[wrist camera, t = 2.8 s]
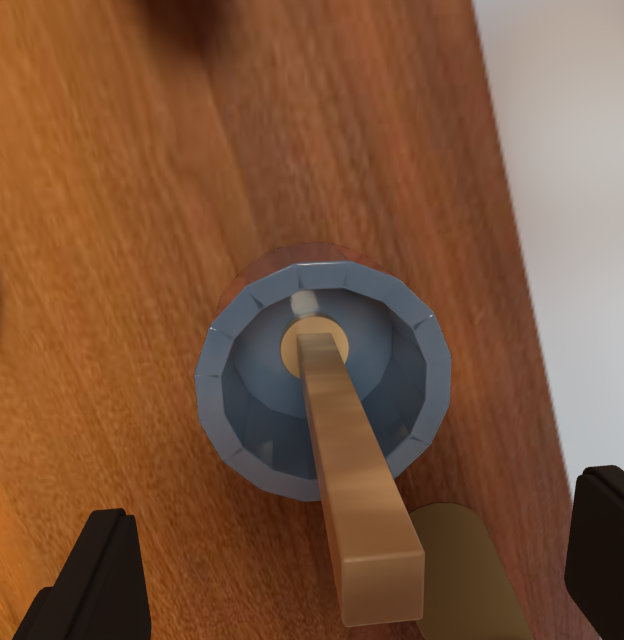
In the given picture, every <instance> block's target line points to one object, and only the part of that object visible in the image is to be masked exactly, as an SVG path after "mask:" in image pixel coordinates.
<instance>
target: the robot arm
mask: <svg viewBox="0 0 624 640" xmlns="http://www.w3.org/2000/svg"><path fill="white" fill-rule="evenodd" d="M564 580H565V585H566V588H567V591H568V593H569V595H570V596H571V598H572V599H573V600H574V602H575V603H576V604H577V606H578V607H579V609H580V610H581V611H582V613H583V614H584V615H585V617H586V618H587V619H588V621H589V622H590V623H591V625H592V626H593V627H594V629H595V630H596V632H597V633H598V634H599V636H600V637H601V638H602V640H624V471H623V470H622V469H620V468H619V467H617V466H614V465H608V466H597V467H588V468H585V470H584V471H583V474H582V475H580V476H578V478H577V481H576V487H575V495H574V503H573V511H572V519H571V527H570V535H569V543H568V551H567V559H566V567H565V575H564ZM150 638H151V617H150V610H149V604H148V597H147V591H146V584H145V578H144V571H143V565H142V558H141V552H140V545H139V539H138V533H137V526H136V520H135V517H134V515H126V512H125V510H124V509H123V508H118V509H107V510H96V511H93V512H92V513H91V514H90V516H89V518H88V520H87V522H86V524H85V526H84V528H83V530H82V532H81V534H80V536H79V538H78V539H77V541H76V543H75V545H74V547H73V549H72V551H71V553H70V555H69V557H68V559H67V561H66V563H65V565H64V567H63V569H62V571H61V572H60V574H59V576H58V578H57V580H56V582H55V584H54V586H53V587H44V588H43V589H42V590H40V591H39V593H38V594H37V595H36V597H35V598H34V600H33V602H32V604H31V606H30V608H29V609H28V611H27V613H26V615H25V617H24V619H23V620H22V622H21V624H20V626H19V628H18V630H17V631H16V633H15V635H14V637H13V639H12V640H150Z"/></svg>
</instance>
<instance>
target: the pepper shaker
mask: <svg viewBox="0 0 624 640" xmlns="http://www.w3.org/2000/svg"><path fill="white" fill-rule="evenodd" d="M409 517H410V519H411V521H412V524H413V526H414V528H415V531H416V533H417V536H418V538H419V540H420V543H421V545H422V547H423V550H424V552H425V568H424V602H423V617H422V619H420V620H415V622H416V624H417V626H418V628H419V630H420V632H421V634H422V636H423V638H424V640H534V637H533V635H532V633H531V630H530V628H529V626H528V623H527V621H526V618H525V616H524V614H523V611H522V609H521V607H520V604H519V602H518V600H517V597H516V595H515V593H514V590H513V588H512V586H511V583H510V581H509V579H508V576H507V574H506V572H505V569H504V567H503V565H502V562H501V560H500V557H499V555H498V553H497V550H496V548H495V546H494V543H493V541H492V539H491V536H490V534H489V532H488V529H487V527H486V526H485V524H484V523H483V521H482V519H481V518H480V516H479V515H477V514H476V513H475V512H473V511H472V510H470V509H469V508H468V507H464V506H461V505H458V504H455V503H434V504H431V505H427V506H423V507H420V508H418V509H416V510H415V511H413V512H411V513H410V514H409Z"/></svg>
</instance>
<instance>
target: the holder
mask: <svg viewBox="0 0 624 640" xmlns="http://www.w3.org/2000/svg"><path fill="white" fill-rule="evenodd" d="M312 312H317V313H323V314H326V315H328V316H330V317H332V318H334V319H335V320H336V321H337V322H338V323H339V324H340V325H341V327H342V328H343V330H344V332H345V334H346V336H347V339H348V343H349V353H348V357H347V360H346V362H345V367H346V369H347V372H348V374H349V376H350V379H351V381H352V383H353V386H354V388H355V390H356V393H357V395H358V397H359V400H360V402H361V404H362V407H363V409H364V411H365V414H366V416H367V418H368V421H369V423H370V425H371V428H372V430H373V432H374V435H375V437H376V439H377V442H378V444H379V446H380V449H381V451H382V454H383V456H384V458H385V461H386V463H387V465H388V468H389V470H390V472H391V475H392V477H393V479H394V480H395V479H396V477H398V476H399V475H400V474H401V473H402V472H403V471H404V470H405V469H406V468H407V467H408V466H410V465H411V464H412V463H413V462H414V461H415V460H416V459H417V458H418V457H419V456H420V455H421V454H422V453H423V452H424V451H425V450H426V449H427V448H428V447H429V446H430V445H431V443H432V441H433V439H434V437H435V435H436V433H437V431H438V428H439V426H440V424H441V422H442V420H443V418H444V416H445V413H446V411H447V409H448V407H449V405H450V404H449V402H450V383H451V353H450V351H449V348H448V346H447V343H446V341H445V338H444V336H443V333H442V331H441V328H440V326H439V323H438V321H437V318H436V316H435V314H434V312H433V311H432V310H431V309H430V308H429V307H428V306H427V305H426V304H425V303H424V302H423V301H422V300H421V299H420V298H419V297H418V296H417V295H416V294H415V293H414V292H412V291H411V290H410V289H409V288H408V287H407V286H406V285H405V284H404V283H403V282H402V281H401V280H400V279H399V278H397V277H396V276H395V275H393V274H392V273H390V272H389V271H388V270H386V269H385V268H384V267H382V266H381V265H379V264H378V263H377V262H375V261H374V260H372V259H371V258H369V257H368V256H365V255H363V254H360V253H358V252H355V251H353V250H351V249H349V248H345V247H342V246H339V245H335V244H333V243H331V244H330V243H322V242H306V243H297V244H292V245H287V246H284V247H281V248H278V249H276V250H273V251H271V252H268V253H267V254H265V255H263V256H261V257H259V258H258V259H256V260H255V261H253V262H251V263H250V264H249V265H248V266H247V267H246V268H245V269H244V270H243V271H242V272H241V273H240V274H238V275H237V277H236V278H235V279H234V280H233V282H232V283H231V284H230V286H229V287H228V288H227V289H226V290H225V291H224V292H223V295H222V296H221V299H220V301H219V304H218V306H217V309H216V311H215V314H214V316H213V319H212V321H211V323H210V326H209V329H208V332H207V335H206V338H205V341H204V344H203V347H202V350H201V353H200V356H199V359H198V362H197V365H196V368H195V374H194V381H195V390H196V400H197V409H198V419H199V421H200V424H201V426H202V427H203V429H204V431H205V433H206V434H207V436H208V438H209V439H210V441H211V443H212V445H213V446H214V448H215V450H216V451H217V453H218V455H219V456H220V458H221V460H222V461H224V463H225V464H227V465H228V466H229V467H231V468H232V469H233V470H235V471H236V472H237V473H239V474H240V475H241V476H243V477H244V478H246V479H247V480H248V481H250V482H251V483H252V484H254V485H255V486H256V487H258V488H260V490H262V491H266V492H269V493H273V494H277V495H281V496H284V497H288V498H292V499H295V500H299V501H303V502H306V501H308V502H309V501H321V496H320V490H319V484H318V479H317V473H316V467H315V461H314V455H313V449H312V443H311V437H310V432H309V426H308V420H307V414H306V408H305V402H304V396H303V391H302V385H301V379H299V378H297V377H295V376H294V375H292V374H291V373H290V372H289V371H288V370H287V369H286V367H285V366H284V364H283V362H282V359H281V355H280V338H281V335H282V333H283V330H284V329H285V327H286V326H287V325H288V323H290V322H291V321H292V320H293V319H294V318H296V317H298V316H300V315H302V314H306V313H312Z"/></svg>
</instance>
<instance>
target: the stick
mask: <svg viewBox="0 0 624 640" xmlns="http://www.w3.org/2000/svg"><path fill="white" fill-rule="evenodd" d="M348 353H349V343H348V339H347V336H346V334H345V332H344V330H343V328H342V327H341V325H340V324H339V323H338V322H337V321H336V320H335V319H334V318H332V317H330V316H328V315H326V314H323V313H317V312H312V313H306V314H302V315H300V316H298V317H296V318H294V319H293V320H292V321H291V322H290V323H288V325H287V326H286V327H285V329H284V330H283V333H282V335H281V338H280V355H281V359H282V362H283V364H284V366H285V367H286V369H287V370H288V371H289V372H290V373H291V374H292V375H294V376H295V377H297V378H299V379H301V385H302V391H303V396H304V402H305V408H306V414H307V420H308V426H309V432H310V437H311V443H312V449H313V455H314V461H315V467H316V473H317V479H318V484H319V490H320V496H321V502H322V508H323V514H324V520H325V525H326V531H327V537H328V543H329V549H330V555H331V561H332V566H333V572H334V578H335V584H336V590H337V596H338V602H339V608H340V613H341V619H342V623H343V625H344V626H345V627H353V626H363V625H373V624H382V623H392V622H402V621H411V620H420V619H422V617H423V602H424V568H425V552H424V550H423V547H422V545H421V543H420V540H419V538H418V536H417V533H416V531H415V528H414V526H413V524H412V521H411V519H410V517H409V514H408V512H407V510H406V507H405V505H404V503H403V500H402V498H401V496H400V493H399V491H398V489H397V486H396V484H395V482H394V479H393V477H392V475H391V472H390V470H389V468H388V465H387V463H386V461H385V458H384V456H383V454H382V451H381V449H380V446H379V444H378V442H377V439H376V437H375V435H374V432H373V430H372V428H371V425H370V423H369V421H368V418H367V416H366V414H365V411H364V409H363V407H362V404H361V402H360V400H359V397H358V395H357V393H356V390H355V388H354V386H353V383H352V381H351V379H350V376H349V374H348V372H347V369H346V367H345V362H346V360H347V357H348Z"/></svg>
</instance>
